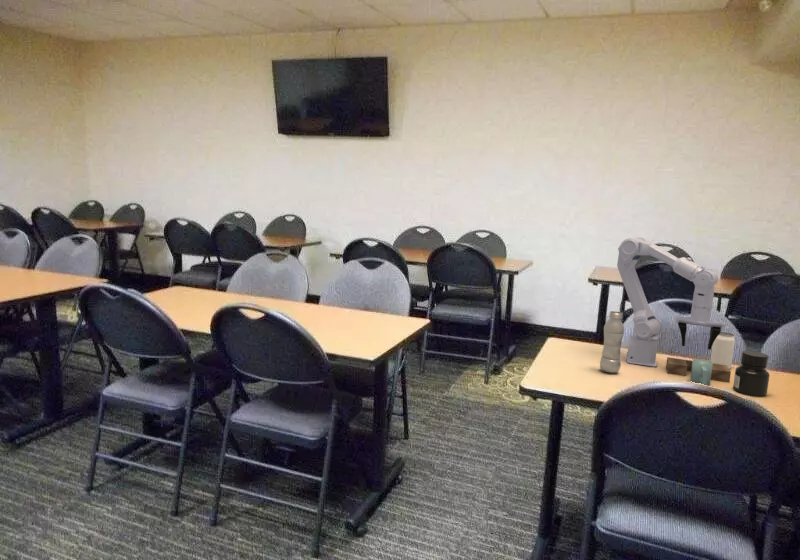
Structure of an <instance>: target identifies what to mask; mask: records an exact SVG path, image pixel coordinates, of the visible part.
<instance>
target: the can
mask: <svg viewBox="0 0 800 560" xmlns="http://www.w3.org/2000/svg"><path fill="white" fill-rule="evenodd" d="M735 342H736V339H735V334H734V333H733V334H732V333H731V332H727V331H721V332H720V334H719V335H718V336H717V338H716V339H715V341H714V343H713V345H712V347H711V354H710V355H711V356H710V361H711V362H713V364H720V365H727V367H728V368H729V370H731V368H732V364H733V358H734V357H733V356H734V350H735Z"/></svg>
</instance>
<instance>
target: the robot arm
mask: <svg viewBox="0 0 800 560" xmlns="http://www.w3.org/2000/svg"><path fill="white" fill-rule="evenodd" d="M617 250H618V255H617V256H618V258H617V264H616V266H617V270H618V272H619V274H620V278H621V281H622V283H623V286H624V289H625V291H626V294H627V297H628V300H629V302H630V306H631V308H632V310H633V313H634V314H633V318H632V321H633V324H634V326H633V331H634V334H635V335H633V336H631V335H630V336H629V338H628V347H627V351H626V363H627V364H632V365H640V366H646V367H647V366H648V367H652V368H653V367H655V368H657V367H658V364H657V361H656V358H657V350H658V343H659V336H658V335H659V334H660V333H661V331H662V329H663V325H662V323H661V321H660V320H659V319H658V318H657V316H656V314H655V312H654V311H653V310H651V308H650V305H649V303H648V300H647V297H646V295H645V291H644V289H643V286H642V284H641V280H640V279H639V276H638V273H637V271H636V268H635V266H636V265H637V263H638V261H639V259H640V258H642V257H643V256H650V257H653V258H655V259H657V260H659V261H660V262H663V263H664V264H667V265H669V266H671V267H672V271H673V272H674V273H675V274H677V275H679V276H681V277H682V278H684V279H686V280H688V281H690V282H693V283H692V284H694V291H693V296H692V302H691V303H692V305H691V310H690V316H689V317H687V316H686V317H685V316H676V315H675V318H674V323H675V324H677V326H678V329H679V332H680V338H681V347H686V346H685V345H686V335H687V330H688V325H689V326H690V325H691V326H697V327H698V326H699V327H705V328H710V333H709V339H708V344H707V349H708V350H709V351H712V346H713V343H714V341H715V339H716V338H717V336H718V335H719V334H720V332H722V330H726V329H725V328H726V322H724V321H719V320H718V321H717V320H712V319H711V317H712V308H713V302H714V297H715V295H714V292H715V286H716V284H717V283H718V281H719V277H718V274H717V273H716V271H714V270H713V269H710V268H706V266H705V265H700V264H698V263H696V262H694V261H692V260H693V258H691V257H685V256H682V257H677V256H676V255H673V254H672V253H670V252H668V251H667V250H665V249H663V248H662V247H661V246H658V245H657V244H655V243H654V242H652V241H649V240H646V239H645V238H643V237H635V238H631V237H630V238H629V237H628V238H625V239H624V240H623V241H622V242H621V243H620V245H619V247H618V248H617Z"/></svg>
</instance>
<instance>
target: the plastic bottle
mask: <svg viewBox="0 0 800 560" xmlns="http://www.w3.org/2000/svg"><path fill="white" fill-rule="evenodd" d="M622 315H623V313H622V312H620V311H616V310H615V311H614V310H613V311H612V310H611V311H610V312H609V315H608V317H609V319H608V320H607V321H606V323H605V324H604V326H603V349H602V354H601V357H600V361H599V368H600V370H601V371H603V372H606V373H611V374H616V373H618V372H619V371H620V370H621V366H622V365H621V347H622V341H623V338H624V335H625V334H624V333H625V326H624V324H623V322H622V320H621V319H623V317H622Z"/></svg>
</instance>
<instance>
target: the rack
mask: <svg viewBox="0 0 800 560" xmlns="http://www.w3.org/2000/svg"><path fill="white" fill-rule="evenodd" d="M692 362H693V360H690V359H682V358H677V357H666V363H665V369H666V373H667V374H668V375H675V376H683V377H687V372H691V370H692ZM730 380H731V369H729V368H728V367H727V365H720V364H713V365H712V373H711V380H710V381H717V382H723V383H730Z"/></svg>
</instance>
